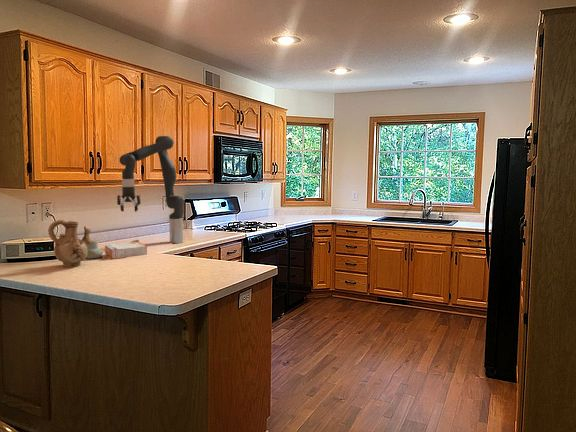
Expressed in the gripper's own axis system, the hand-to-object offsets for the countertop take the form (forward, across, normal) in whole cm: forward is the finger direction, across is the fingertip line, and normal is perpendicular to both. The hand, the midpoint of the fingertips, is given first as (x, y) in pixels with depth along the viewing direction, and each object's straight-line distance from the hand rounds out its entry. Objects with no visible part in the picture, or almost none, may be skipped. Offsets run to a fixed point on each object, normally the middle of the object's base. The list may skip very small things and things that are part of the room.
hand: (129, 211), depth 301 cm
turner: (+24, 0, -1) cm, 24 cm away
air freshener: (+25, +11, +30) cm, 41 cm away
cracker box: (+22, -13, +14) cm, 29 cm away
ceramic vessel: (+25, +11, +52) cm, 59 cm away
